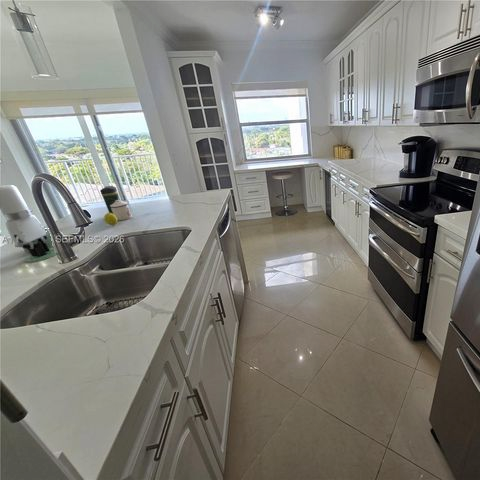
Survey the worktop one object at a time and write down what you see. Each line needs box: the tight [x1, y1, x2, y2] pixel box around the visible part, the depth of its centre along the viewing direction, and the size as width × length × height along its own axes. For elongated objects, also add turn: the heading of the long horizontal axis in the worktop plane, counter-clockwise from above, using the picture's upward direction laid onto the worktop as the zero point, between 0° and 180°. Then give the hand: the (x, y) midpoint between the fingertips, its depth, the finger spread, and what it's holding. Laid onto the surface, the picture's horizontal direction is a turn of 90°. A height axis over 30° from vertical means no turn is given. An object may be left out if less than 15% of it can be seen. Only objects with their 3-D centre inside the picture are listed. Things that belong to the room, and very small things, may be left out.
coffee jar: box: [99, 185, 122, 214], centre depth 164 cm, size 10×8×19 cm
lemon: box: [103, 212, 118, 227], centre depth 147 cm, size 6×6×8 cm
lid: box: [23, 241, 57, 263], centre depth 115 cm, size 12×12×7 cm
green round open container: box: [21, 227, 54, 254], centre depth 123 cm, size 11×11×8 cm
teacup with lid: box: [110, 200, 133, 221], centre depth 159 cm, size 12×9×12 cm
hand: (41, 253), depth 115 cm, fingers closed on lid, 3 cm apart
